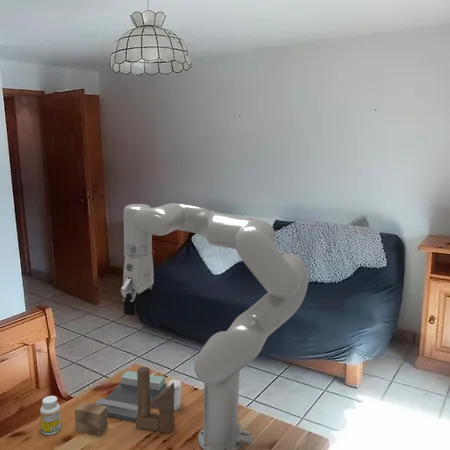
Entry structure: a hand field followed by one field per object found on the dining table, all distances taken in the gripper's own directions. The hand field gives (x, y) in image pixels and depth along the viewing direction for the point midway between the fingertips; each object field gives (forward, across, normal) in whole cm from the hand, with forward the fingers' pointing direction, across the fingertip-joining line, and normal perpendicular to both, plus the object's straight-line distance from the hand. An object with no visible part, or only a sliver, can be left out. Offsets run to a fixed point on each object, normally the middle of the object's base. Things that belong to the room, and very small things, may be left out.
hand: (138, 308), depth 129 cm
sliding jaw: (+35, +19, +8) cm, 40 cm away
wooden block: (+36, 0, -5) cm, 37 cm away
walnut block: (+36, -6, +12) cm, 39 cm away
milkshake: (+36, +11, -7) cm, 39 cm away
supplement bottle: (+37, -10, +23) cm, 44 cm away
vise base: (+36, +11, +8) cm, 39 cm away
